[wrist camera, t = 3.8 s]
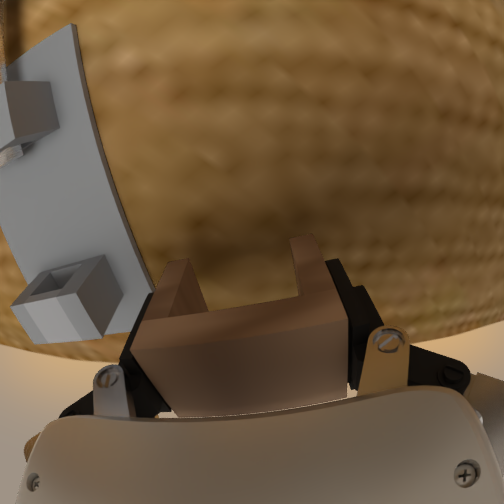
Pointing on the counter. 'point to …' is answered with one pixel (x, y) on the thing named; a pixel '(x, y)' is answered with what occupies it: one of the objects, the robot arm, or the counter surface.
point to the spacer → (246, 344)
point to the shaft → (15, 151)
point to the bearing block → (64, 203)
